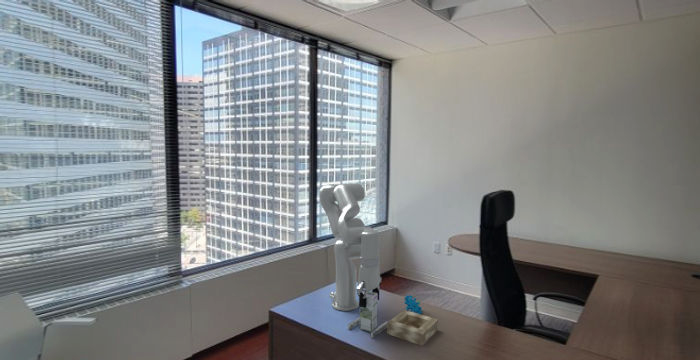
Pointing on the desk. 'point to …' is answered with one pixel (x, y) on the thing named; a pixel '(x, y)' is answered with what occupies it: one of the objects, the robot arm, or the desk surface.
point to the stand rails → (373, 334)
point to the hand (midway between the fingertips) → (369, 303)
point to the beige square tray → (412, 327)
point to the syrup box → (369, 313)
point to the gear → (412, 304)
